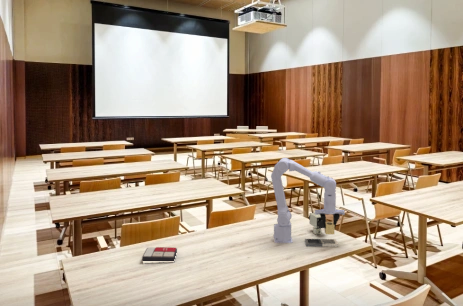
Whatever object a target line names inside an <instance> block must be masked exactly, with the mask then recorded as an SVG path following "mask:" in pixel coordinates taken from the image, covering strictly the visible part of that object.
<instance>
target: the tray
mask: <svg viewBox="0 0 463 306" xmlns="http://www.w3.org/2000/svg"><path fill="white" fill-rule="evenodd" d="M304 243H305V247H307V248H308V247H312V248H313V247H315V248H316V247H319V248H322V247H323V248H324V247H326V248H328V247H330V248H338V247H339V243H338V241H337V239H336V238H304Z"/></svg>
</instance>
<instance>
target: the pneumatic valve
mask: <svg viewBox="0 0 463 306" xmlns="http://www.w3.org/2000/svg"><path fill="white" fill-rule="evenodd" d="M308 220H309V225H311V226H313V227H312V233H313V234H314V235H316V236H318V235H322V229H324V226H323V221H322V218H321V216H320V214H318V215H315V212H310V213H309V215H308Z"/></svg>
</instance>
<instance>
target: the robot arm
mask: <svg viewBox="0 0 463 306" xmlns="http://www.w3.org/2000/svg"><path fill="white" fill-rule="evenodd" d="M286 172H298V173H299V174H301V175H303V176H305V177H308V178H309V180H310V182H312V183H315V184H316V185H317V186H320V187H321V188H322V187H323V189H324V193H323V208H321V209H314V213H315V215H318V214H320V216H321V218H322V221H323V226H324V228H323V229H324V230H325V229H326V222H327V216H326V215H332V216H333V217H332V222H333V223H334V225H335V226H334V230H335V229H336V226H337V224H338V221H339V219H340V217H341V215H342V216H345V215H346V214H345V210H344V209H336V207H337V206H336V203H337V202H336V200H337V196H336V195H337V193H336V191H337V190H336V189H337V182H336V181H337V180H335V179H334V178H333V177H330V176H329V175H328V176H327V175H325V174H323V173H321V171H320V170H318V171H317V170H314V171H312V170H310V169H309V168H307V167H305V166H303V165H302V164H300V163H298V162H296V161H295V160H293V159H289V158H288V157H282V158H280V160H278V162H276V164H274V166H273V170H272V172H271V174H270V177H271V182H272V183H271V184H272V188H273V193H274V196H275V202H276V207H277V219H276V220H277V223H275V224H273V235H272V236H273V242H274V244H276V243H277V244H293V237H292V222H291V219H292V212H291V211H290V209H289V207H288V205H287V201H286V194H285V191H284V186H283V181H282V176H283V175H284V174H285V173H286Z"/></svg>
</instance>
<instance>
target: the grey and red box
mask: <svg viewBox="0 0 463 306" xmlns="http://www.w3.org/2000/svg"><path fill="white" fill-rule="evenodd" d="M176 253H177V254H178V248H177V247H170V246H169V247H161V246H156V247H149V246H148V247H146V249H145V251H144V253H143V255H142V257H141V260H142V261H174V259H175V260H176V258H175V256H176V257H177V255H176ZM142 261H141V262H142ZM174 262H175V261H174Z"/></svg>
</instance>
